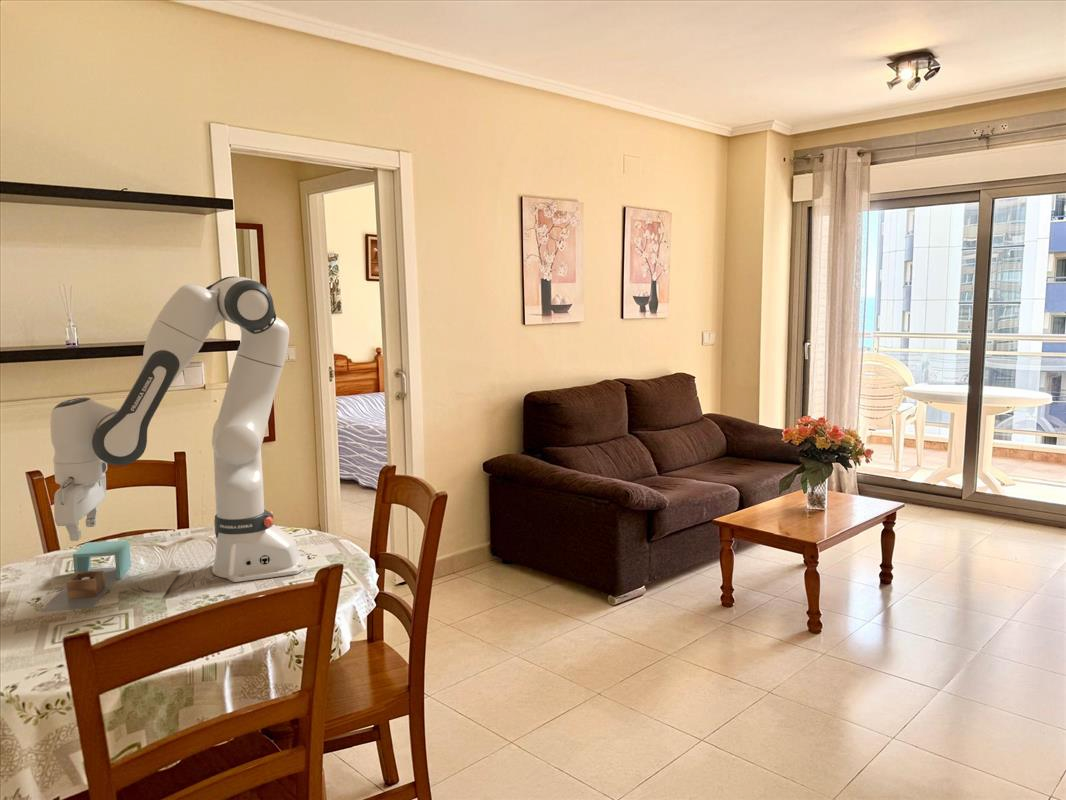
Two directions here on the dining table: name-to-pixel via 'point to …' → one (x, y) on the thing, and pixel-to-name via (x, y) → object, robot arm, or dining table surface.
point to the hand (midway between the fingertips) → (83, 532)
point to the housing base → (81, 603)
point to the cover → (103, 549)
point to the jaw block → (85, 584)
